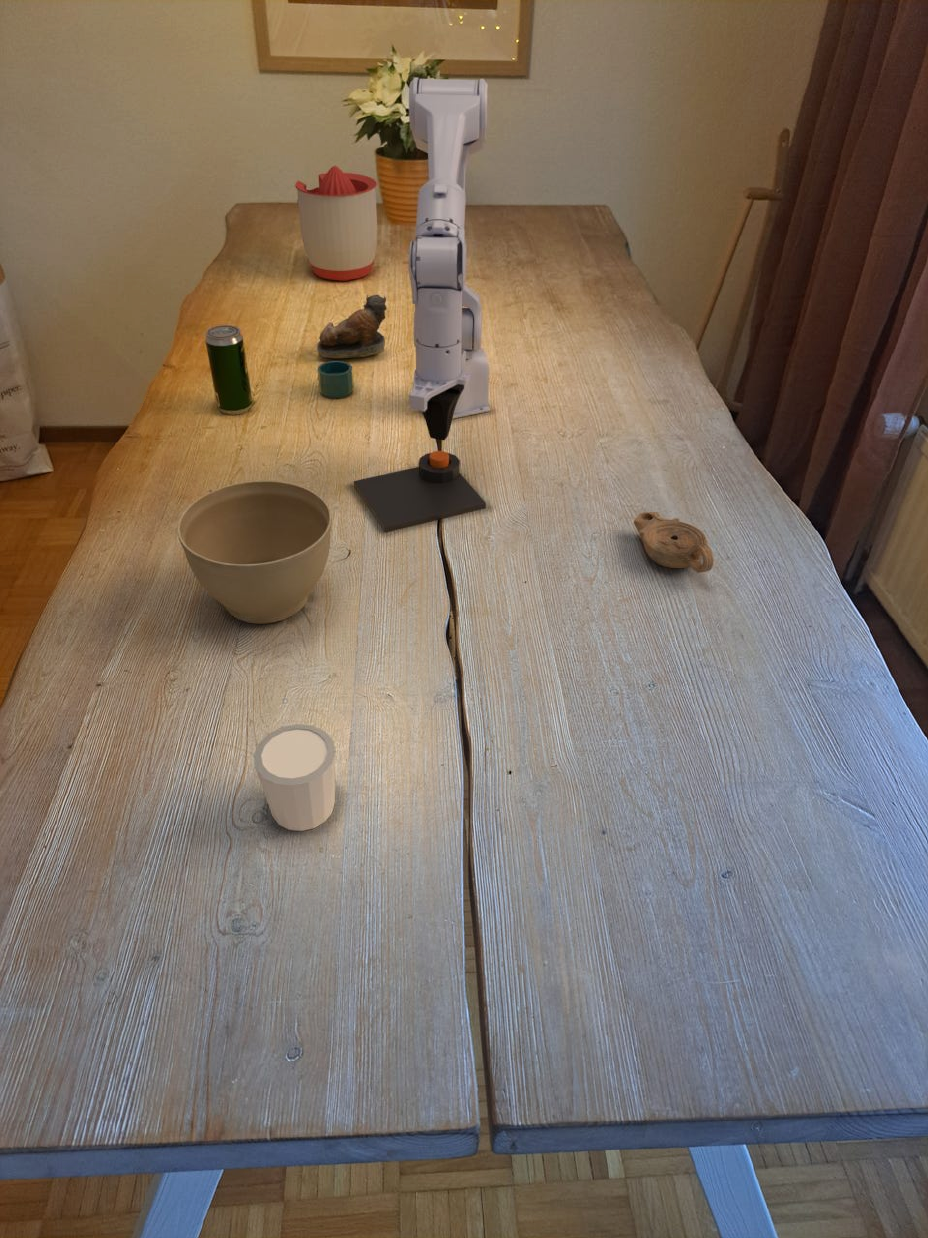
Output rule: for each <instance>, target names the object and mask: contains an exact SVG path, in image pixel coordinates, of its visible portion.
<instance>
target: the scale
mask: <svg viewBox="0 0 928 1238" xmlns="http://www.w3.org/2000/svg"><path fill="white" fill-rule="evenodd" d="M445 452H446V453H448V455H449V465H448V466H447V467H444V468H434V467H432V466H430V454H431V453H432V452H429V453H425V454H424V455H423V456H421V457H420V458H419V460H418V466H416V467H412V468H407V469H402V470H398V471H393V472H389V473H384V474H379V475H376V476H375V475H374V476H370V477H366V478H362V479H361V478H360V479H356V480H352V481H353V488H354V489H355V490H356V492H357V494H358V495H359V496H360V498H361V499H362V500H363V502H364V503H365V505H366V506H367V508H368V509H369V511H370V512H371V514H372V515H373V517H374V518H375V520H376V521H377V522H378V524H379V525H380V527H381V528H382V530H383V531H384V533H391V532H394V531H398V530H402V529H407V528H411V527H414V526H420V525H424V524H427V523H431V522H435V521H440V520H443V519H447V518H452V517H455V516H460V515H464V514H468V513H472V512H476V511H481V510H485V509H486V508H487V503H486V501H485V500H484V499H483V498H482V497H481V496H480V494H479V493H478V492H477V491H476V490H475V489H474V488H473V486H472V485H471V484H470V483H469V481H468V480H467V479H466V478H465V477H464V476H463V475H462V474H461V473H460V472H461V460H460V458H459V457H457V456H456V455H455V454H452V453H451V452H447V451H445Z"/></svg>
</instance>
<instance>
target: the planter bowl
mask: <svg viewBox="0 0 928 1238" xmlns="http://www.w3.org/2000/svg"><path fill="white" fill-rule="evenodd" d="M332 519H333V517H332V512H331V508H330V506H329V505H328V503H327V502H326V501H325V500H324V499H323V497H321V496H320V495H319V494H318V493H316V492H314V491H313V490H311V489H309V488H308V487H305V486H303V485H299V484H296V483H294V482H293V483H292V482H287V481H283V480H282V481H280V480H266V479H265V480H263V479H262V480H249V481H243V482H236V483H232V484H228V485H224V486H222V487H218V488H216V489H213V490H211V491H209V492H207V493H205V494H203V495H201V496H200V497H198V498H196V499H195V500H194V501H192V502H191V503H190V504H189V505H188V506H187V507H186V508H185V509H184V511H183V512H182V513H181V515H180V516H179V519H178V521H177V526H176V528H177V529H176V530H177V531H176V532H177V537H178V540H179V543H180V545H181V547H182V549H183V551H184V554H185V557H186V560H187V564H188V565H189V567H190V569H191V573H192V574H193V575H194V577H195V578H196V580H197V582H198V583H199V584H200V586H201V587H202V588H203V589H204V590H205V591H206V592H207V593H208V594H209V595H210V596H211V597H212V598H213V599H215V601H217V602H218V603H220V605H223V606H224V608H225V610H226V611H227V612H228V613H229V614H230V615H231V616H232V617H234V618H235V619H237V620H240V621H242V622H245V623H251V624H271V623H276V622H280V621H284V620H286V619H289V618H291V617H293V616H294V615H296V614H297V613H298V612H300V611H301V610H302V609H303V608H304V607H305V605H306V604H307V602H308V599H309V596H310V594H311V593H312V591H313V590H314V589H315V587H316V586H317V584H318V583H319V581H320V579H321V577H322V575H323V573H324V571H325V568H326V565H327V561H328V558H329V555H330V548H331V531H332V521H333V520H332Z"/></svg>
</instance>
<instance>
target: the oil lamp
mask: <svg viewBox="0 0 928 1238" xmlns="http://www.w3.org/2000/svg"><path fill="white" fill-rule="evenodd" d="M633 525H634V526H635V528H636V530H637V532H638V534H639V537H640V539H641V541H642V543H643V547H644V548H643V549H644V550H645V552H646V554H647V556H648V557H649V558H650V559H651V560H652V561H653V562H655V563H656V564H658V565H660V566H663V567H666V568H670V569H684V568H688V567H690V568H691V569H692V570H693V571H694V572H696V573H705V572H709V571H711V570H712V569H713V566H714V553H713V550H712V548H711V547H710V546H709V541H708V539H707V537H706V535H705V534H704V532H702V530H700V529H699V528H697V527H696V526H693V525H691V524H689V523H686V522H683V521H680V518H677V517H674V518H672V519H670V518H669V519H668V518H663V517H661V516H660V513H659V512H658V511H644V512H640V513H639V514H638V515H637V516H636V518H635V519H634V520H633ZM701 558H702V563H701V562H700V561H701Z"/></svg>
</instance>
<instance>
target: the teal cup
mask: <svg viewBox="0 0 928 1238" xmlns="http://www.w3.org/2000/svg"><path fill="white" fill-rule="evenodd" d="M316 369H317V370H316V371H317V379H318V390H319V392H320V393H321V394H322V395H323V396H325V397H327V398H330V399H341V398H345V397H348V396H349V395H351V394H352V392H353V391H354V372H353V366H352V365H351V363H350V362H346V361H343V360H329V361H326V362H323V363H321V364H319V365H318V366H317V368H316Z"/></svg>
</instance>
